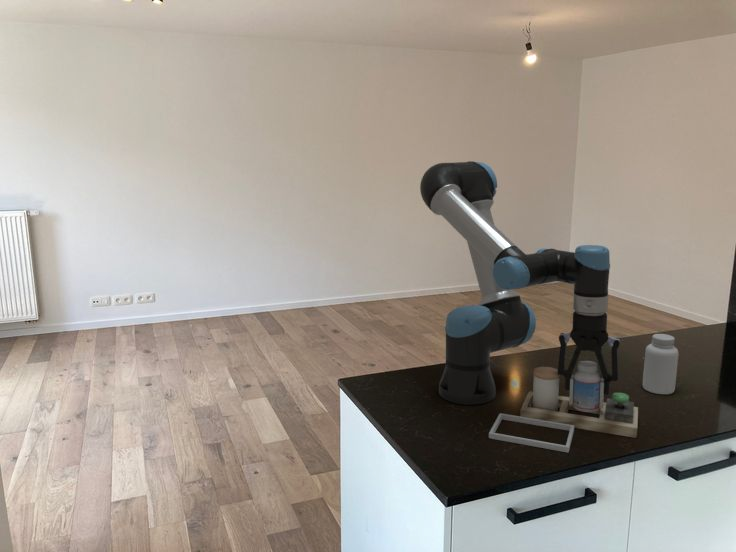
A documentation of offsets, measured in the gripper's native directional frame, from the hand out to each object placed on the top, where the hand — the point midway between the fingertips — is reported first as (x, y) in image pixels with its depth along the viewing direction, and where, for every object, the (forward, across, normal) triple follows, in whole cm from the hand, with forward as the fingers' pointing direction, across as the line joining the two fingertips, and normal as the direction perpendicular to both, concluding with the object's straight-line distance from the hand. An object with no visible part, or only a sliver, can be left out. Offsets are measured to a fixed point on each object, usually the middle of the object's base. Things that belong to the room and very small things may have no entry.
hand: (586, 404), depth 143 cm
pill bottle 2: (+4, +16, +26) cm, 31 cm away
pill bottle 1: (+1, 0, 0) cm, 1 cm away
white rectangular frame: (+4, -11, -13) cm, 17 cm away
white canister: (+4, -10, 0) cm, 10 cm away
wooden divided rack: (+4, -2, 0) cm, 4 cm away
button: (0, +7, 0) cm, 7 cm away
